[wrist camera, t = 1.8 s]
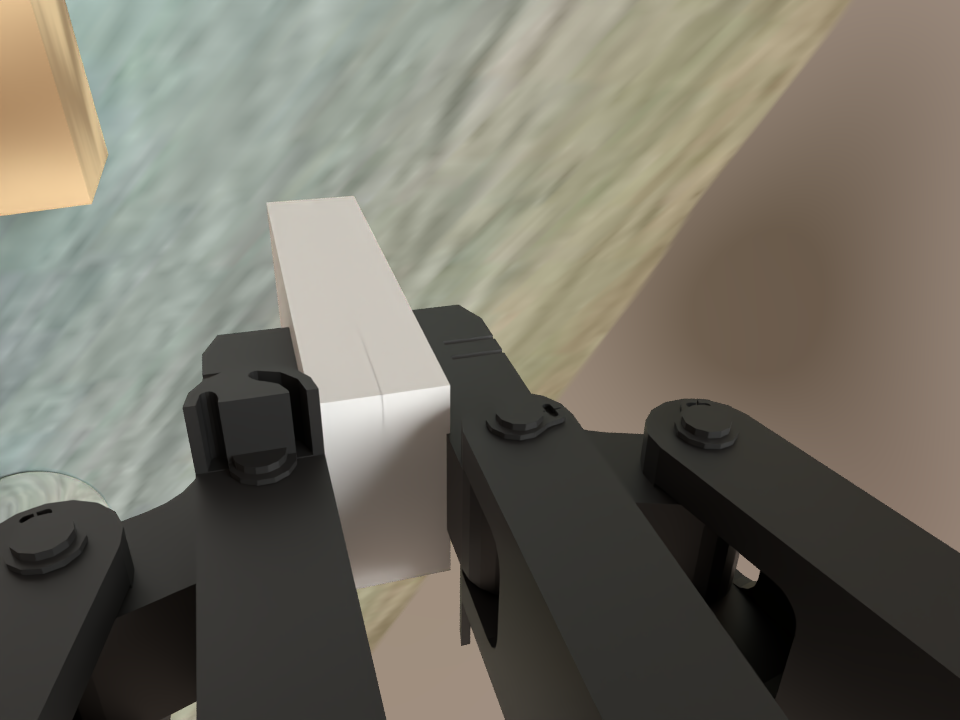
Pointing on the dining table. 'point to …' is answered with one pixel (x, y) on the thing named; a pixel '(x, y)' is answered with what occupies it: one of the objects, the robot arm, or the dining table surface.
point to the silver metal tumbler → (41, 491)
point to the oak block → (45, 112)
